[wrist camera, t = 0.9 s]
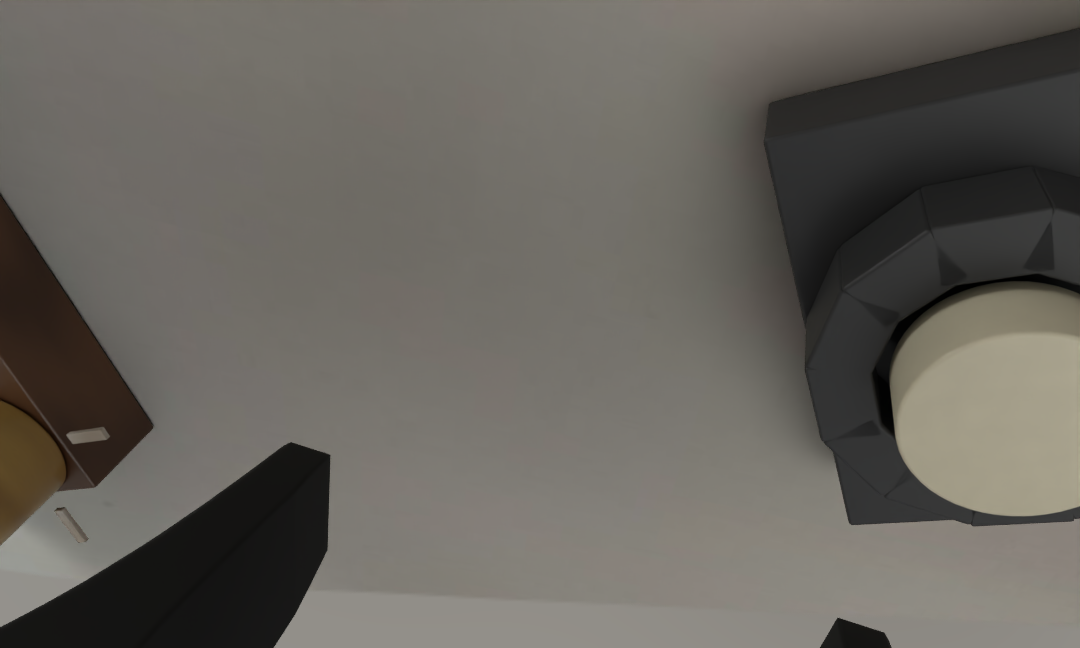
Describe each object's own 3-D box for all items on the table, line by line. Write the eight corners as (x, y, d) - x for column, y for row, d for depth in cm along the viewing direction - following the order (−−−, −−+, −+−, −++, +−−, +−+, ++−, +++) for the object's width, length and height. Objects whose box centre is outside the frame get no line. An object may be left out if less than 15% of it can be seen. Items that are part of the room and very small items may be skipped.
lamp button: (1131, 445, 16) (1160, 511, 15) (903, 463, 18) (910, 524, 17) (1126, 261, 15) (1159, 316, 13) (873, 298, 16) (879, 350, 15)
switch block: (1166, 441, 20) (1232, 573, 17) (846, 466, 23) (851, 584, 20) (1164, 6, 16) (1255, 73, 12) (768, 101, 18) (756, 177, 15)
